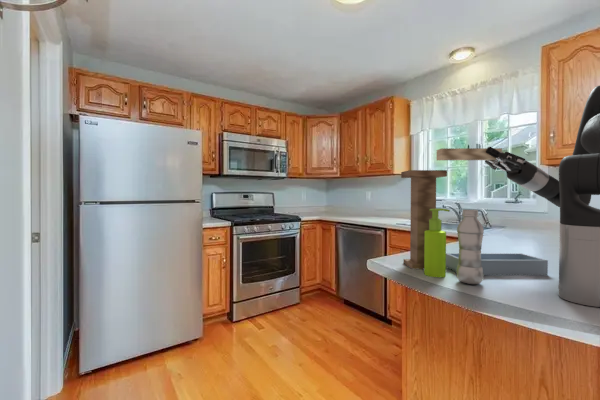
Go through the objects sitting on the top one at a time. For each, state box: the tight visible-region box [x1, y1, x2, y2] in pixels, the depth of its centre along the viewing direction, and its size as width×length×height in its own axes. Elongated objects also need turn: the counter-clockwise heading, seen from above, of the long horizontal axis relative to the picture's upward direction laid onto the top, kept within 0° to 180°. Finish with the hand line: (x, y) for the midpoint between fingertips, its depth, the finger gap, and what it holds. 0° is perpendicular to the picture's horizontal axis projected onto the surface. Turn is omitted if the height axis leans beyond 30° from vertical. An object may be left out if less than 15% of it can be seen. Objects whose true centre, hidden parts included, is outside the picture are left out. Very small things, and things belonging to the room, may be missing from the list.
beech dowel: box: [436, 147, 503, 161], centre depth 99 cm, size 20×4×4 cm, turn 90°
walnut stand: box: [400, 169, 448, 270], centre depth 99 cm, size 12×8×32 cm, turn 90°
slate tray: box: [446, 252, 549, 276], centre depth 94 cm, size 26×11×4 cm, turn 90°
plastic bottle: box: [455, 209, 485, 285], centre depth 80 cm, size 6×7×20 cm
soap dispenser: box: [423, 207, 451, 278], centre depth 89 cm, size 6×7×20 cm
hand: (483, 150), depth 99 cm, fingers closed on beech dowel, 3 cm apart
